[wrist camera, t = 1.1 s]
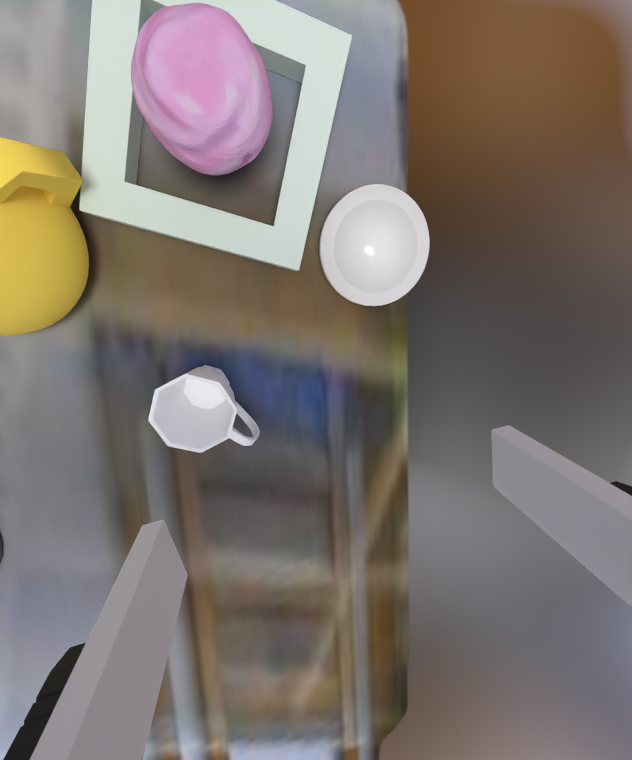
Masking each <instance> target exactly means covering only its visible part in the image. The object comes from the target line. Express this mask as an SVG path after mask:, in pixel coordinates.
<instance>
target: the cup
mask: <svg viewBox="0 0 632 760" xmlns="http://www.w3.org/2000/svg"><path fill="white" fill-rule="evenodd" d="M229 384H230V382H229V381H228V379H227V378H226V376H225V374H224V373H223V371H222V370H221V369H218V368H214V367H211V366H207V365H204V366H202V367H197V368H195V369H193V370H191V371H190V372H188V373H186V374H184V375H182V376H180V377H178V378H176V379H174V380H172V381H170V382H169V383H167V384H165V385H163V386H161V387H159V388H157V389H155V392H154V396H153V401H152V405H151V410H150V414H149V419H148V421H149V422H150V424H151V425H152V426H153V427H154V429H155V430H156V431H157V433H158V434H159V435H160V437H161V438H162V439H163V441H164V442H165V443H166V444H167V446H169V447H174V448H179V449H184V450H189V451H194V452H199V453H202V452H204V451H206V450H208V449H209V448H211V447H213V446H215V445H217V444H219V443H221V442H223V441H225V440H227V439H228V438H230V439H232V440H234V441H235V442H237V443H239V444H241V445H244V446H251V445H252V444H253V443H254V442H255V440H256V439H257V438H258V437H259V434H260V431H259V428H258V426H257V424H256V423H255V421H254V420H253V419H252V418H251V417H250V415H249V414H248V413H247V412H246V411H245V410H244V409H243V408H242V407H241V406H240V405H239V404H238V403H237V402H236V401H235V397H234V393H233V391H232V389H231V387H230V386H229ZM236 413H237V414H238V415H239V416H240V417H241V418H242V420H243V421H244V422H245V423H246V424H247V426H248V427H249V428H250V429H251V432H252V435H253V437H246V436H244V435H242V434H241V433H240V432H239V431H237V430H236V429H235V428H234V427H233V423H234V420H235V416H236Z"/></svg>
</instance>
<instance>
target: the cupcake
mask: <svg viewBox="0 0 632 760" xmlns="http://www.w3.org/2000/svg"><path fill="white" fill-rule="evenodd" d="M131 83H132V89H133V93H134V97H135V100H136V103H137V105H138V107H139V109H140V111H141V113H142V115H143V116H144V118H145V120H146V122H147V124H148V125H149V127H150V129H151V130H152V132H153V133H154V135H155V136H156V138H157V139H158V140H159V141H160V142H161V143H162V145H163V146H164V147H165V148H166V149H167V150H168V151H169V152H170V153H171V154H172V155H173V156H174V157H175V158H177V159H178V160H180V161H181V162H182V163H184V164H185V165H187V166H188V167H190V168H191V169H193V170H195V171H197V172H200V173H203V174H208V175H223V174H228V173H231V172H233V171H236V170H238V169H239V168H241V167H243V166H244V165H246V164H248V163H249V162H251V161H252V160H253V159H255V157H256V156H257V155H258V154H259V153H260V151H261V150H262V148H263V146H264V144H265V142H266V140H267V138H268V135H269V132H270V128H271V124H272V112H273V110H272V99H271V92H270V86H269V81H268V77H267V73H266V69H265V66H264V62H263V60H262V58H261V56H260V54H259V52H258V50H257V49H256V47H255V46H254V45H253V43H252V42H251V40H250V39H249V37H248V36H247V34H246V33H245V31H244V30H243V28H242V27H241V25H240V24H239V23H238V22H237V20H236V19H235V18H234V17H233V16H232V15H230V14H229V13H228V12H226V11H225V10H223V9H221V8H218V7H215V6H212V5H208V4H204V3H188V4H181V5H173V6H166V7H163V8H162V9H160V10H158V11H156V12H155V13H154V14H153V15H152V16H151V17H150V18H149V19H148V20H147V21H146V22H145V24H144V25H143V27H142V28H141V30H140V31H139V35H138V38H137V40H136V43H135V47H134V52H133V56H132V62H131Z"/></svg>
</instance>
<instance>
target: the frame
mask: <svg viewBox="0 0 632 760" xmlns="http://www.w3.org/2000/svg"><path fill="white" fill-rule="evenodd" d="M188 3H204V4H208V5H212V6H215V7H218V8H221V9H223V10H225V11H226V12H228V13H229V14H230V15H232V16H233V17H234V18H235V19H236V20H237V22H238V23H239V24H240V25H241V27H242V28H243V30H244V31H245V33H246V34H247V36H248V37H249V39H250V40H251V42H252V43H253V45H254V46H255V47H256V49H257V50H258V52H259V54H260V56H261V58H262V60H263V62H264V66H265V69H268V70H270V71H273V72H275V73H278V74H280V75H283V76H285V77H287V78H290V79H292V80H295V81H297V82H300V83H302V87H301V92H300V97H299V102H298V107H297V112H296V117H295V122H294V127H293V132H292V137H291V142H290V147H289V152H288V157H287V162H286V167H285V172H284V177H283V181H282V186H281V191H280V196H279V201H278V206H277V211H276V216H275V221H274V226H270V225H267V224H264V223H260V222H257V221H254V220H250V219H247V218H244V217H240V216H237V215H234V214H230V213H227V212H224V211H220V210H217V209H214V208H210V207H207V206H204V205H200V204H197V203H194V202H191V201H187V200H184V199H181V198H177V197H174V196H171V195H167V194H164V193H161V192H157V191H154V190H151V189H147V188H144V187H141V186H137V185H136V182H137V172H138V162H139V152H140V142H141V132H142V122H143V115H142V113H141V111H140V109H139V107H138V105H137V103H136V100H135V97H134V93H133V89H132V83H131V62H132V56H133V52H134V47H135V43H136V40H137V38H138V35H139V31H140V30H141V28H142V27H143V25H144V24H145V22H146V21H147V20H148V19H149V18H150V17H151V16H152V15H153V14H154V13H155V12H156V11H158V10H160V9H162V8H163V7H166V6H173V5H181V4H188ZM351 38H352V35H350V34H347V33H345V32H343V31H341V30H339V29H337V28H334V27H332V26H330V25H328V24H326V23H324V22H321V21H319V20H317V19H315V18H313V17H310V16H308V15H306V14H304V13H302V12H300V11H297V10H295V9H293V8H291V7H289V6H287V5H284V4H282V3H280V2H278V1H276V0H92V13H91V29H90V45H89V62H88V78H87V94H86V110H85V126H84V143H83V159H82V175H81V178H82V179H83V182H82V184H81V191H80V208H79V210H80V211H82V212H85V213H87V214H90V215H92V216H95V217H99V218H102V219H106V220H110V221H113V222H117V223H121V224H124V225H128V226H132V227H135V228H139V229H143V230H146V231H150V232H154V233H157V234H161V235H165V236H168V237H172V238H176V239H179V240H183V241H187V242H190V243H194V244H197V245H201V246H205V247H208V248H212V249H216V250H219V251H223V252H227V253H230V254H234V255H238V256H241V257H245V258H249V259H252V260H256V261H260V262H263V263H267V264H271V265H274V266H278V267H282V268H285V269H289V270H293V271H299V268H300V264H301V259H302V255H303V250H304V246H305V242H306V237H307V233H308V228H309V224H310V220H311V215H312V211H313V206H314V202H315V197H316V193H317V189H318V184H319V180H320V175H321V171H322V167H323V162H324V158H325V153H326V149H327V144H328V140H329V136H330V131H331V127H332V122H333V118H334V113H335V109H336V105H337V100H338V96H339V91H340V87H341V83H342V78H343V74H344V69H345V65H346V60H347V56H348V52H349V47H350V43H351Z"/></svg>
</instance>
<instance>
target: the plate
mask: <svg viewBox="0 0 632 760" xmlns="http://www.w3.org/2000/svg"><path fill="white" fill-rule="evenodd" d="M428 253H429V232H428V227H427V223H426V220H425V218H424V216H423V214H422V212H421V210H420V208H419V207H418V205H417V204H416V203H415V202H414V200H413V199H411V198H410V197H409V196H408V195H407V194H406V193H404V192H403V191H401V190H399V189H397V188H395V187H392V186H388V185H381V184H373V185H367V186H363V187H360V188H357V189H355V190H353V191H352V192H350V193H348V194H347V195H346V196H344V197H343V198H342V199H341V200H340V201H339V202H338V203H337V204H336V205H335V206H334V207H333V209H332V210H331V211H330V213H329V214H328V216H327V218H326V220H325V222H324V224H323V227H322V230H321V233H320V239H319V258H320V264H321V267H322V270H323V273H324V275H325V277H326V279H327V281H328V282H329V284H330V285H331V286H332V288H333V289H334V290H335V291H336V292H337V293H338V294H339V295H341V296H342V297H344V298H345V299H347V300H349V301H351V302H354V303H357V304H361V305H366V306H380V305H385V304H388V303H391V302H394V301H396V300H397V299H399V298H401V297H402V296H404V295H405V294H406V293H407V292H409V291H410V290H411V289H412V287H413V286H414V285H415V284H416V282H417V281H418V280H419V278H420V276H421V274H422V272H423V270H424V268H425V265H426V262H427V258H428Z"/></svg>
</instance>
